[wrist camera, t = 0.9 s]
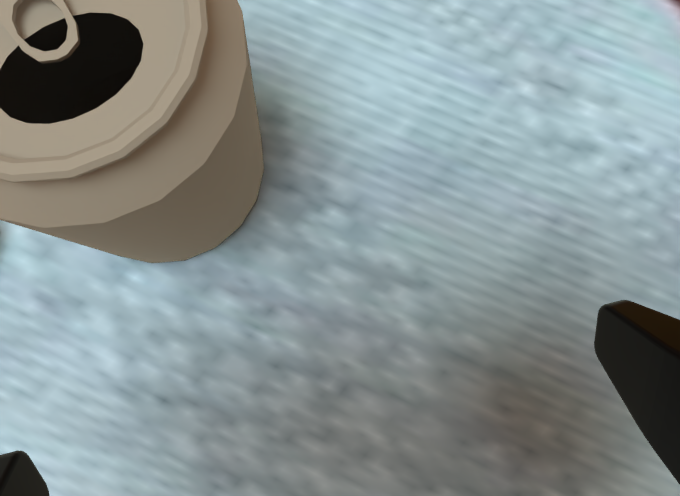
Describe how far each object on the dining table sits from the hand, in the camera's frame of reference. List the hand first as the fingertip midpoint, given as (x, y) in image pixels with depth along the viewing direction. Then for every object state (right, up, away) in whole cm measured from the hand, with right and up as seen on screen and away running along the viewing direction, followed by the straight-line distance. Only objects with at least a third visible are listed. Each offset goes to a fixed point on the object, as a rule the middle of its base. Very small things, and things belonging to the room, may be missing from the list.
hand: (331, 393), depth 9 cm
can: (-6, +5, +13) cm, 16 cm away
